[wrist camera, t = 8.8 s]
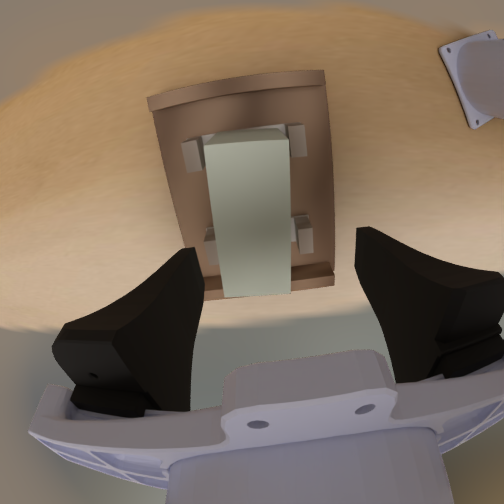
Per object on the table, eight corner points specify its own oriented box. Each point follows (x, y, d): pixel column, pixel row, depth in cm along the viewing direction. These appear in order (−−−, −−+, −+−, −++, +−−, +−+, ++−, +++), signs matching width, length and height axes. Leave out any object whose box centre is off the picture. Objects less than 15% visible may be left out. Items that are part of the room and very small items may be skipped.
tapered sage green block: (277, 127, 18) (288, 139, 12) (281, 245, 22) (290, 293, 17) (217, 131, 18) (203, 145, 13) (230, 248, 22) (224, 297, 17)
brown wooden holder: (319, 73, 17) (333, 69, 14) (331, 263, 25) (341, 286, 22) (155, 99, 18) (137, 99, 15) (199, 279, 26) (193, 304, 23)
